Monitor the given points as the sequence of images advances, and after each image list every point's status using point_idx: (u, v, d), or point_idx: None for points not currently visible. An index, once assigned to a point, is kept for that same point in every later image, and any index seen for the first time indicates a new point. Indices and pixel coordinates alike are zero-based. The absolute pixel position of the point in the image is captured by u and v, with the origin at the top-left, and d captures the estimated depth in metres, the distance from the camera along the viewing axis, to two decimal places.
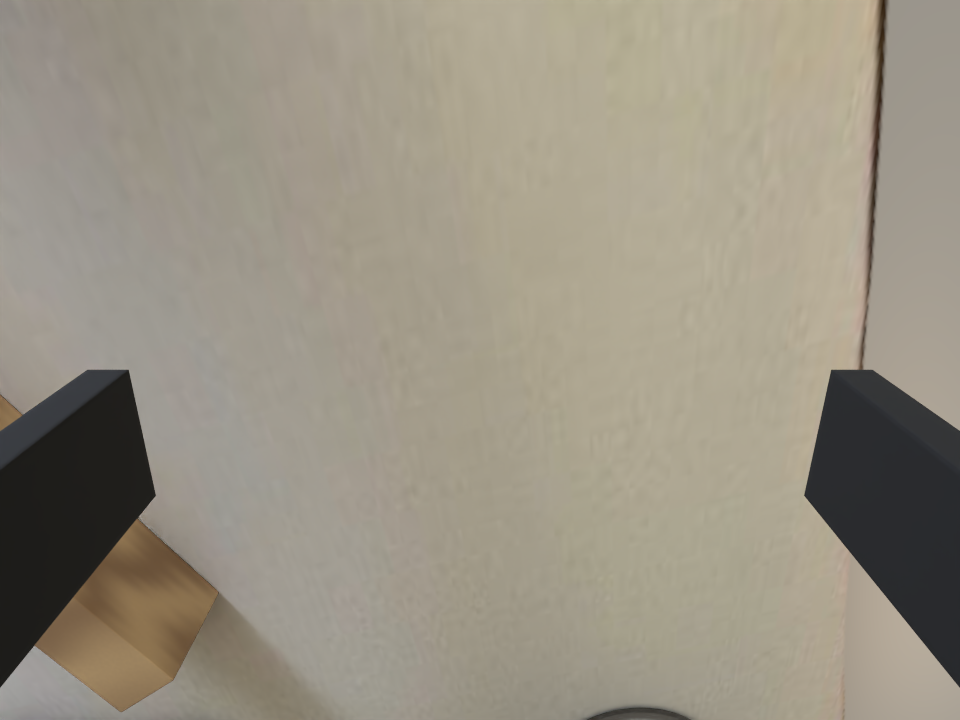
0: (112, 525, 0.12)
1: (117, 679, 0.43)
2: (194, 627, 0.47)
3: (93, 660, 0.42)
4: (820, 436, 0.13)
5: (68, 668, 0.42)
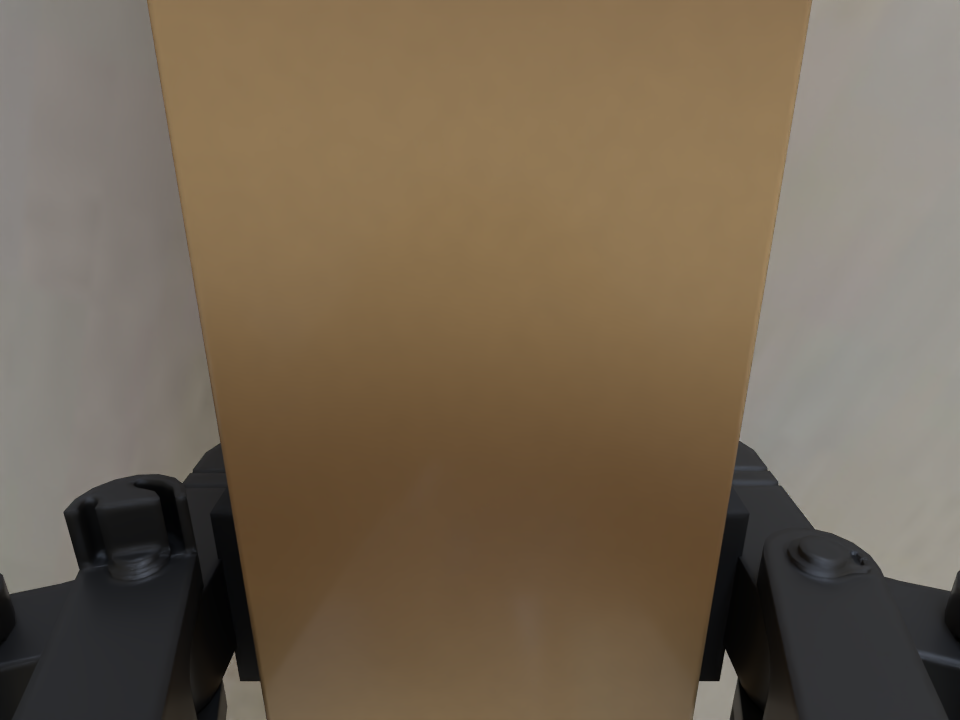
0: None
1: None
2: None
3: None
4: None
5: None
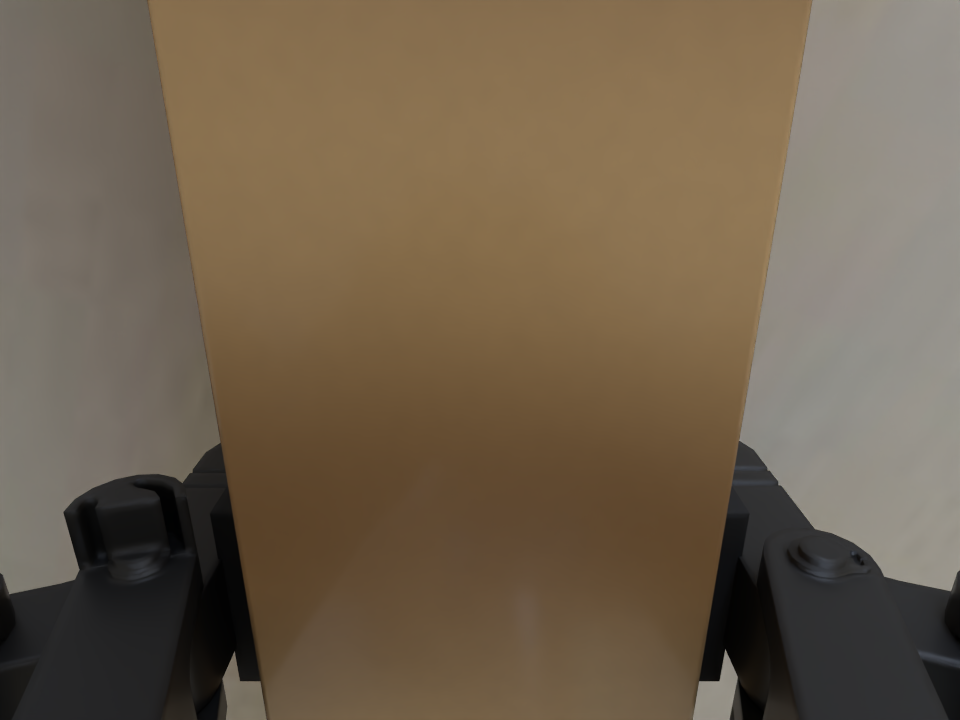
0: None
1: None
2: None
3: None
4: None
5: None
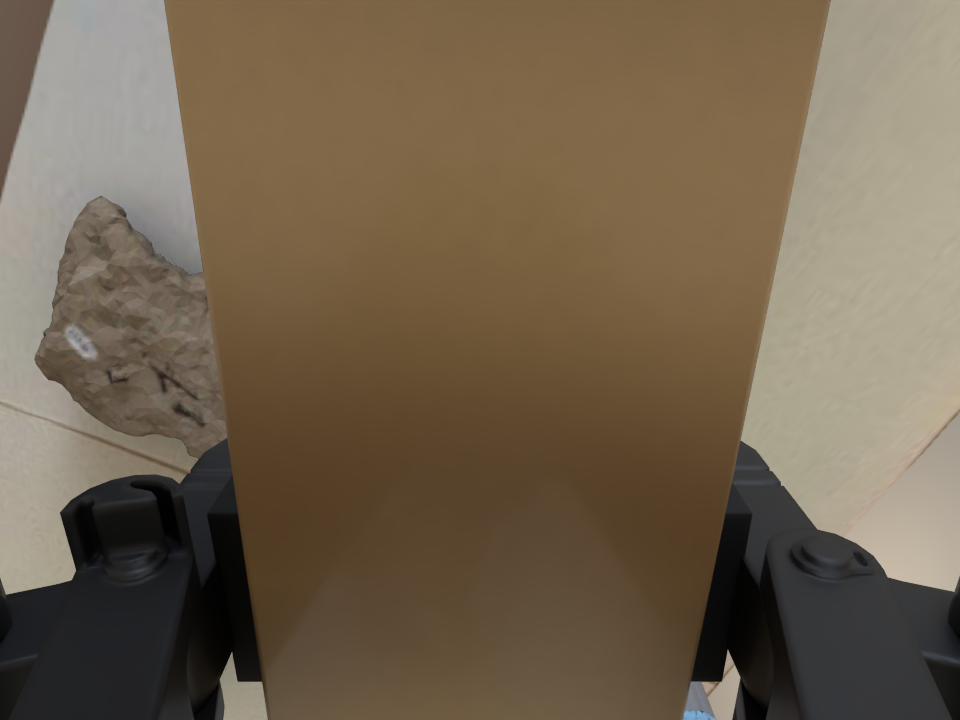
0: None
1: None
2: None
3: None
4: None
5: (285, 708, 0.08)
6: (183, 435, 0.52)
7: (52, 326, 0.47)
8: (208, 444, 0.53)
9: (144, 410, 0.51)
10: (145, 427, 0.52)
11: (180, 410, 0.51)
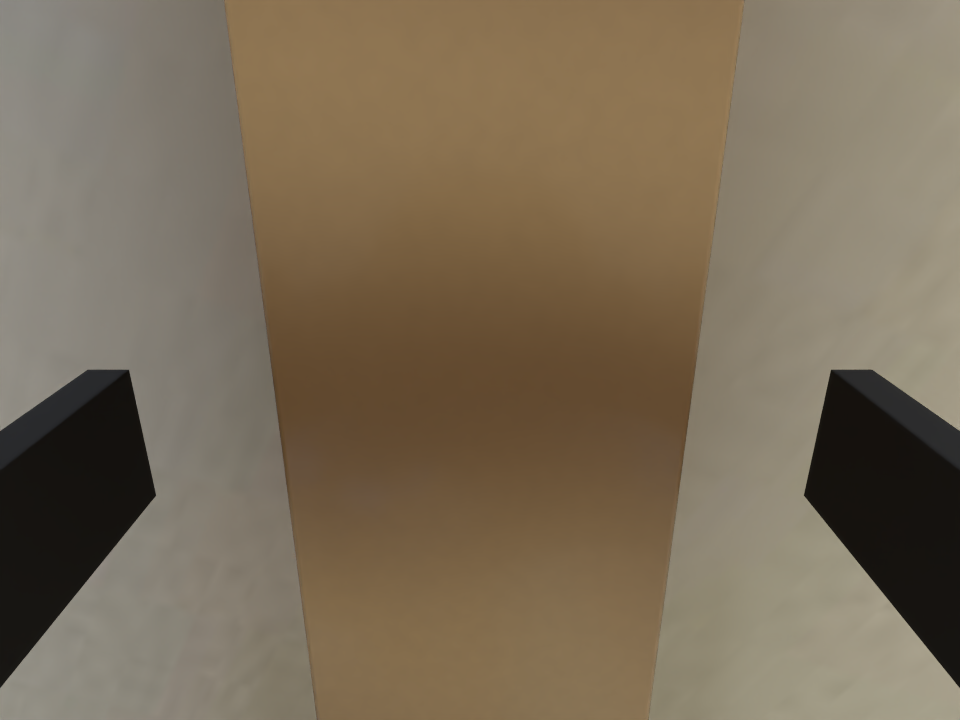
0: (113, 525, 0.12)
1: None
2: None
3: (453, 614, 0.09)
4: (819, 436, 0.13)
5: (317, 587, 0.09)
6: None
7: None
8: None
9: None
10: None
11: None
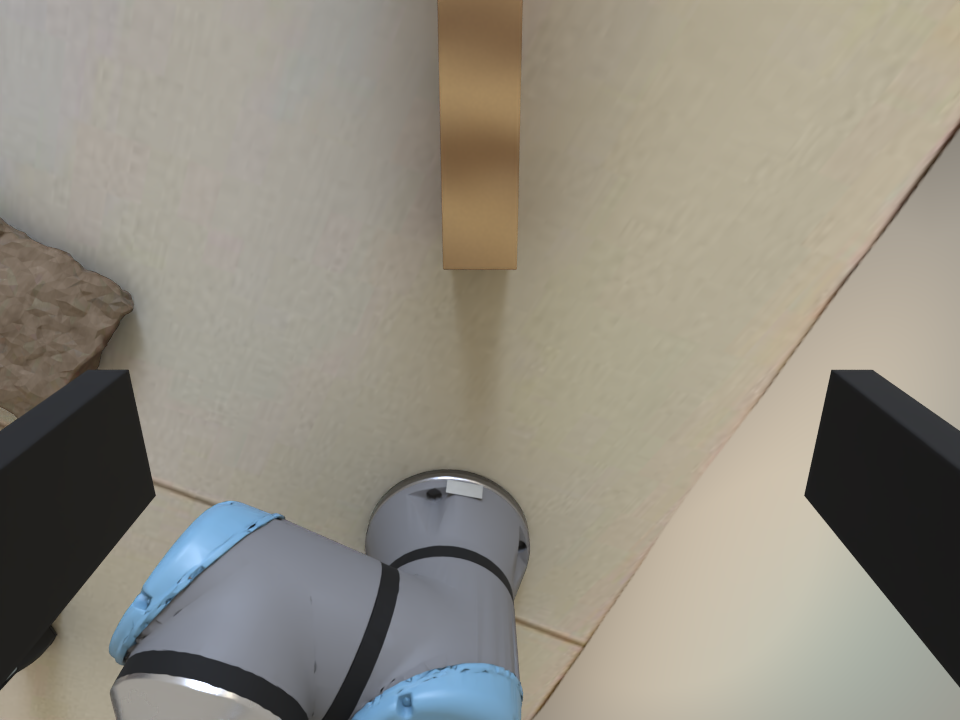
0: (112, 525, 0.12)
1: (474, 236, 0.44)
2: None
3: (473, 205, 0.43)
4: (820, 436, 0.13)
5: (445, 198, 0.43)
6: None
7: None
8: (4, 390, 0.51)
9: None
10: None
11: None
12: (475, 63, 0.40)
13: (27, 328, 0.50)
